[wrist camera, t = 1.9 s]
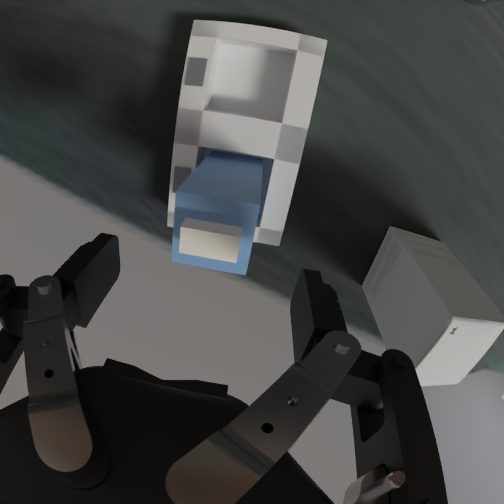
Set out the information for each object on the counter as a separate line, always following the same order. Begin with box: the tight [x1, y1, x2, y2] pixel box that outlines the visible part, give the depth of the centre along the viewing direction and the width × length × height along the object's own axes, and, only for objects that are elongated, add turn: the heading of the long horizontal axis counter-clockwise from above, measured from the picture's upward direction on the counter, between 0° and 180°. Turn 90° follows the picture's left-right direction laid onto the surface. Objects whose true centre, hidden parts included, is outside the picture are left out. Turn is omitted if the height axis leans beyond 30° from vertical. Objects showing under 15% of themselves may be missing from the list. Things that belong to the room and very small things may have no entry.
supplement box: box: [362, 226, 504, 386], centre depth 21 cm, size 7×7×13 cm
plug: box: [172, 151, 263, 275], centre depth 18 cm, size 4×4×11 cm
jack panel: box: [167, 20, 327, 246], centre depth 20 cm, size 16×9×3 cm, turn 170°
